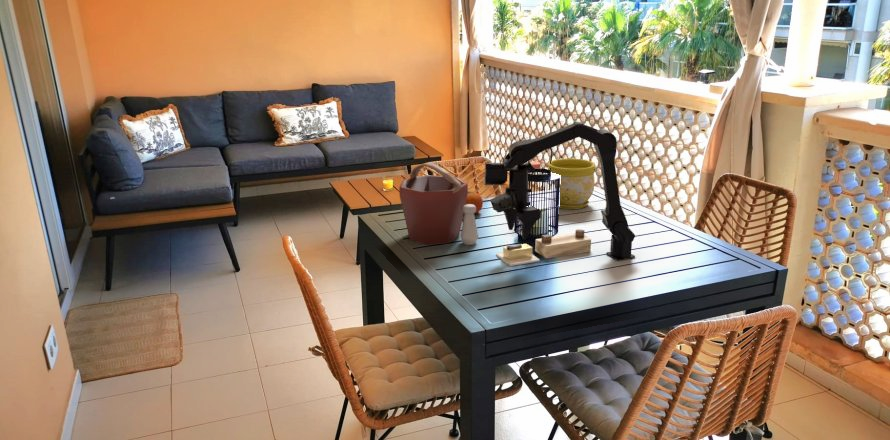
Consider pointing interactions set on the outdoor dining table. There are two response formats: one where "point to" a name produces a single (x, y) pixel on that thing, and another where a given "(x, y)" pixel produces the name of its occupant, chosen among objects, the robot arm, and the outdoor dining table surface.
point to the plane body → (563, 244)
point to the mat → (518, 260)
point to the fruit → (474, 200)
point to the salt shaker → (469, 225)
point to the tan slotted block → (517, 251)
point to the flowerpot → (574, 181)
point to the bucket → (433, 205)
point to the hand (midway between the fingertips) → (517, 234)
